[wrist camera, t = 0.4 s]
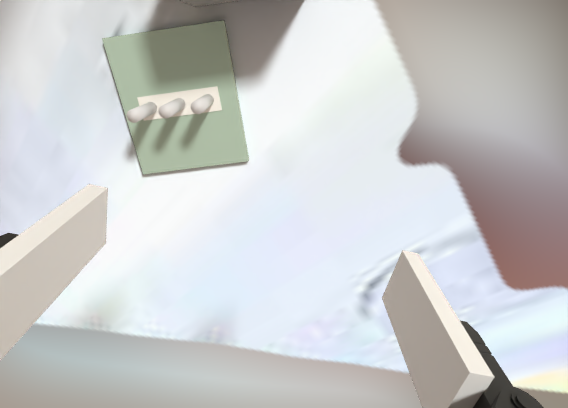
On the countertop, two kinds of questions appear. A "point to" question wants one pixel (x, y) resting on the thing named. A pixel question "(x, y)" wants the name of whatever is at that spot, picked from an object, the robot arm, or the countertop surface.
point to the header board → (179, 96)
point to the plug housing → (205, 2)
